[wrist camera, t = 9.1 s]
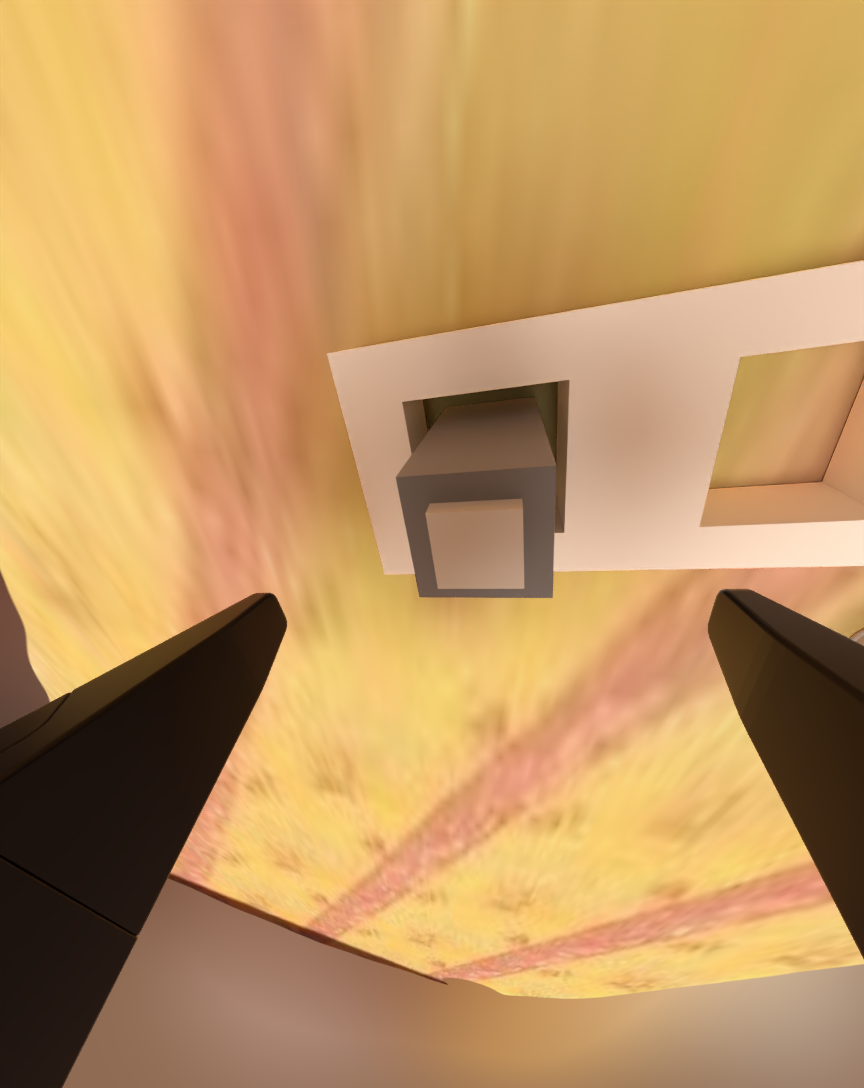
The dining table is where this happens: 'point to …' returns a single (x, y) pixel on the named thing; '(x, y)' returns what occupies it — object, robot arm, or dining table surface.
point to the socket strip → (631, 423)
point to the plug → (482, 503)
